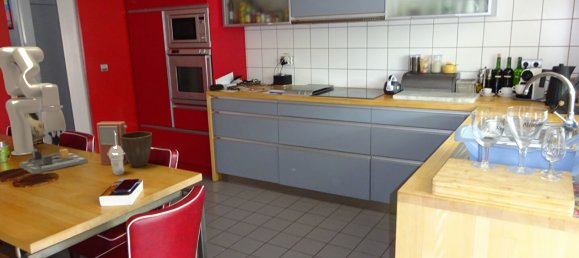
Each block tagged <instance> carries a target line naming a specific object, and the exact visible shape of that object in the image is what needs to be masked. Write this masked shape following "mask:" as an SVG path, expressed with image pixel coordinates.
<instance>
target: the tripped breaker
mask: <svg viewBox="0 0 579 258" xmlns="http://www.w3.org/2000/svg"><path fill="white" fill-rule="evenodd" d="M58 150H59V153H60V157H58V159H62V158H67V157H71V156H69V155H68V153H69V149H68V148H60V149H58Z"/></svg>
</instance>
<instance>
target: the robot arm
mask: <svg viewBox="0 0 579 258" xmlns="http://www.w3.org/2000/svg"><path fill="white" fill-rule="evenodd" d="M44 55H45V54H44V51H43V50H42V49H41V48H40V47H38V46H3V47H0V69H1V71H2V76H3V81H4V87H5V88H4V89H5V91H6V93H7V95H9V96H10V97H11V96H12V97H13V96H15V98H10V99H8V100H7V101H5V109H6V112H7V115H8V119H9V123H10V130H11V137H12V138H11V139H12V142H13V143H12V144H13V149H14V150H13V151H11V152H10V153H11V155H13V156H25V155H26V156H27V155H31V154H32V155H33V153H32V151H37V150H38V149H37V148H35V147H34V144H33V140H32V133H31V126H30V121H29V120H28V119H27V118H26V117H25V116H24V114H30V113H39V112H41V110H42V107H43V111H42V112H41V120H42V130H43V134H46V135H48V136H50V137H51V139H52V140H51V141H52V144H53V145H60V142H61V141H60V136H61V134H63V133H65V132H66V131H67V128H66V125H67V124H66V120H65V116H64V113H63V110H62V109H64V105H61V104H60V103H61V102H60V95H59V87H58V85H57V84H55V83H54V84H53V83H50V82H43V83H42V82H41V83H40V82H39V83H38V82H37V80H36V79H35V78H34V77H35V76H36V75H38V74H39V73H40V71H41V67H40V65H39V64H38V63H41V62H43V60H44V58H45V56H44ZM16 96H21V97H16ZM22 96H24V97H22ZM41 99H42V100H41Z"/></svg>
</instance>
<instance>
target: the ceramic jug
mask: <svg viewBox="0 0 579 258" xmlns="http://www.w3.org/2000/svg"><path fill="white" fill-rule="evenodd" d="M24 116H25V117H26V118H27V119H28V120H29V121H30V126H31V133H32V140H33V145H38V144H37V143H40V144H41V143H43V139H44V138H45V137H46V135H47V134H43V130H42V118H40V117H39V115H37V114H36V113H30V114H24Z"/></svg>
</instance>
